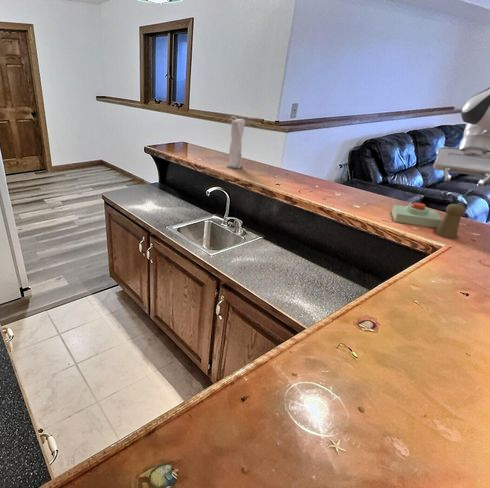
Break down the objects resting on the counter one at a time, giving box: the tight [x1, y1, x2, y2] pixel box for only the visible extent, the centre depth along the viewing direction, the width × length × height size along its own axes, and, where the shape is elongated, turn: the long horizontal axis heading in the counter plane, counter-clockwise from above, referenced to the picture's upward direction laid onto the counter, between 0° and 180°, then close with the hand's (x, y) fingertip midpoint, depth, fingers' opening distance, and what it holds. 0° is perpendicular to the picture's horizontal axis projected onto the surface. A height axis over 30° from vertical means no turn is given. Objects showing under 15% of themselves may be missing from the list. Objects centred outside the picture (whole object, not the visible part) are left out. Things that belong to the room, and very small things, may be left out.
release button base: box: [391, 204, 443, 229], centre depth 133 cm, size 14×11×5 cm
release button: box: [411, 202, 427, 210], centre depth 132 cm, size 4×4×2 cm
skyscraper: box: [227, 115, 246, 170], centre depth 199 cm, size 8×8×28 cm
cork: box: [434, 203, 466, 239], centre depth 120 cm, size 6×6×11 cm
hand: (463, 182), depth 124 cm, fingers open, 8 cm apart
